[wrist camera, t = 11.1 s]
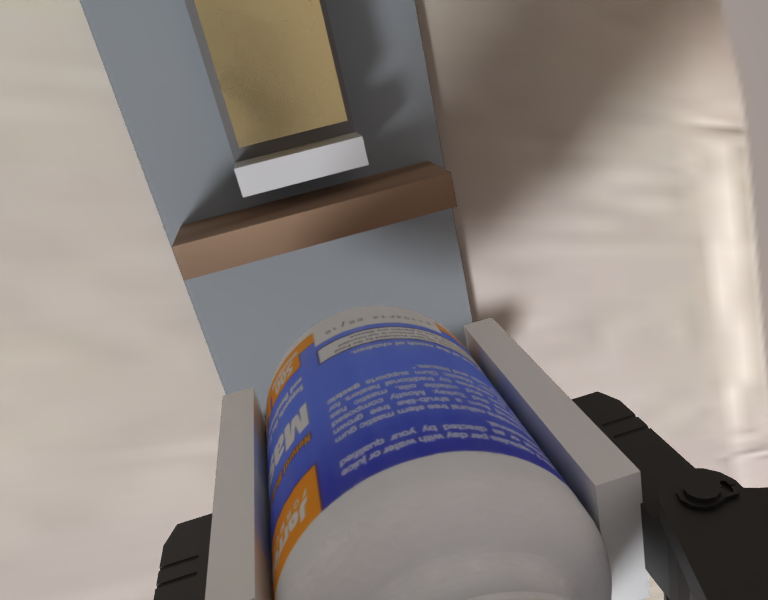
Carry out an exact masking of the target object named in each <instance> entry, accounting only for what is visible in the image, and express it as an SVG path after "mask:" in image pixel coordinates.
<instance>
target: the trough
mask: <svg viewBox="0 0 768 600" xmlns="http://www.w3.org/2000/svg"><path fill="white" fill-rule="evenodd" d="M453 207H457V204H456V198H455V193H454V187H453V181H452V176H451V173H450V172H448V171H447V170H445V169H443V168H441V167H439V166H437V165H435V164H433V163H432V162H430V161H424V162H421V163H417V164H413V165H409V166H405V167H402V168H398V169H394V170H390V171H386V172H383V173H379V174H375V175H371V176H367V177H363V178H360V179H356V180H352V181H348V182H344V183H341V184H337V185H333V186H329V187H325V188H322V189H318V190H314V191H310V192H306V193H303V194H299V195H295V196H291V197H287V198H284V199H280V200H276V201H272V202H268V203H265V204H261V205H257V206H253V207H249V208H245V209H242V210H238V211H234V212H230V213H226V214H223V215H219V216H215V217H211V218H207V219H204V220H200V221H196V222H192V223H188V224H185V225H181V226H180V229H179V231H178V233H177V236H176V238H175V240H174V243H173V245H172V250H173V253H174V255H175V258H176V261H177V263H178V266H179V269H180V271H181V274H182V277H183V280H184V281H185V280H189V279H192V278H196V277H200V276H203V275H207V274H211V273H214V272H218V271H222V270H225V269H229V268H233V267H236V266H240V265H244V264H248V263H251V262H255V261H259V260H262V259H266V258H270V257H273V256H277V255H281V254H284V253H288V252H292V251H295V250H299V249H303V248H306V247H310V246H314V245H317V244H321V243H325V242H328V241H332V240H336V239H339V238H343V237H347V236H350V235H354V234H358V233H361V232H365V231H369V230H372V229H376V228H380V227H383V226H387V225H391V224H394V223H398V222H402V221H406V220H409V219H413V218H417V217H420V216H424V215H428V214H431V213H435V212H439V211H442V210H446V209H450V208H453Z"/></svg>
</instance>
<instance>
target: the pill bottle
mask: <svg viewBox="0 0 768 600" xmlns="http://www.w3.org/2000/svg"><path fill="white" fill-rule="evenodd" d="M266 445H267V468H268V491H269V512H270V535H271V553H272V577H273V594H274V600H611V599H612V576H611V568H610V562H609V558H608V554H607V551H606V547H605V544H604V542H603V539H602V536H601V534H600V532H599V530H598V528H597V527H596V525H595V523H594V521H593V519H592V518H591V517H590V515H589V514H588V512H587V511H586V510H585V508H584V507H583V505H582V504H581V503H580V501H579V500H578V498H577V497H576V495H575V494H574V493H573V491H572V490H571V488H570V487H569V486H568V484H567V483H566V482H565V480H564V479H563V478H562V476H561V475H560V474H559V472H558V471H557V470H556V468H555V467H554V466H553V465H552V463H551V462H550V461H549V459H548V458H547V457H546V455H545V454H544V453H543V451H542V450H541V449H540V447H539V446H538V445H537V443H536V442H535V441H534V439H533V438H532V437H531V435H530V434H529V433H528V431H527V430H526V429H525V427H524V426H523V425H522V423H521V422H520V421H519V419H518V418H517V417H516V415H515V414H514V413H513V411H512V410H511V409H510V407H509V406H508V405H507V403H506V402H505V401H504V399H503V398H502V397H501V395H500V394H499V393H498V391H497V390H496V389H495V387H494V386H493V385H492V383H491V382H490V381H489V379H488V378H487V377H486V375H485V374H484V372H483V371H482V370H481V368H480V367H479V366H478V364H477V363H476V362H475V360H474V359H473V358H472V356H471V355H470V354H469V352H468V351H467V349H466V348H465V347H464V346H463V345H462V344H461V342H460V341H459V340H458V339H457V338H456V337H455V336H454V335H453V334H452V333H451V332H449V331H448V330H447V329H446V328H445V327H443V326H442V325H441V324H439V323H438V322H436V321H435V320H433V319H431V318H429V317H427V316H425V315H423V314H421V313H418V312H415V311H412V310H408V309H404V308H399V307H394V306H380V305H378V306H364V307H359V308H353V309H350V310H346V311H343V312H340V313H337V314H335V315H332V316H330V317H328V318H326V319H324V320H322V321H320V322H319V323H317V324H316V325H314V326H313V327H311V328H310V329H308V330H307V331H306V332H305V333H304V334H302V335H301V336H300V337H299V338H298V339H297V340H296V341H295V342H294V343H293V344H292V346H291V347H290V348H289V349H288V350H287V352H286V353H285V354H284V356H283V358H282V359H281V361H280V363H279V364H278V366H277V368H276V370H275V372H274V375H273V377H272V380H271V383H270V387H269V390H268V396H267V403H266Z"/></svg>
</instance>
